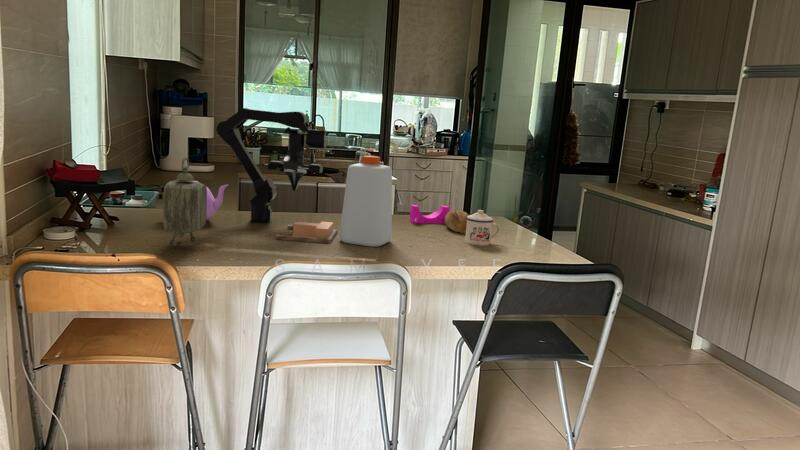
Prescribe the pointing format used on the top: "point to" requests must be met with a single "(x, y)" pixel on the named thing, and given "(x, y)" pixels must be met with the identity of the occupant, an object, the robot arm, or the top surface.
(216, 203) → the teapot
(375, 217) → the plastic bottle
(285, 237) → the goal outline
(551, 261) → the top surface
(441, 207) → the toy block
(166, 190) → the tabletop clock
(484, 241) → the teacup with lid
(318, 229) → the t puck
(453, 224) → the bread roll
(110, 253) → the top surface
